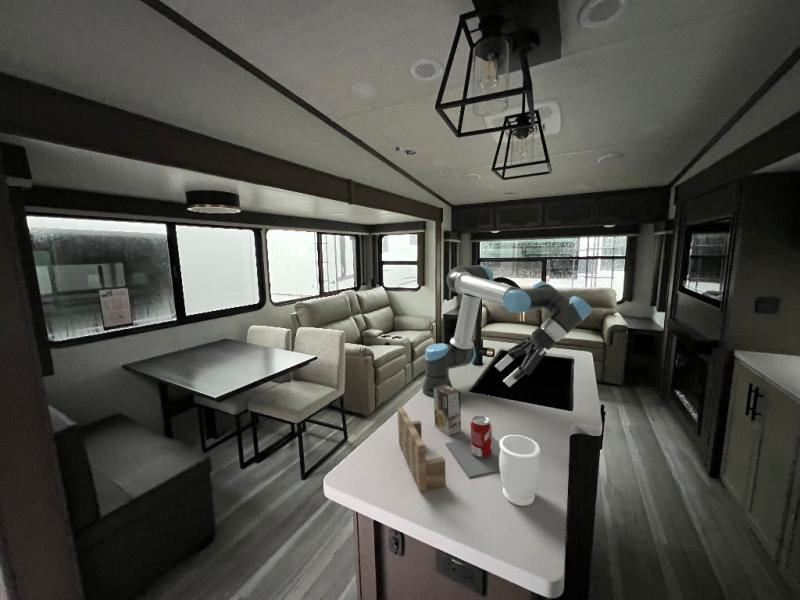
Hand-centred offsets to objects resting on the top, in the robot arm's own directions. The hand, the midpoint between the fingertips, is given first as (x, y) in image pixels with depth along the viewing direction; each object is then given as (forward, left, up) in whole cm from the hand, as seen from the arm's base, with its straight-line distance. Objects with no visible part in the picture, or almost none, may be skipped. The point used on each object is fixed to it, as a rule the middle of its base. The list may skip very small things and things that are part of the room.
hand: (501, 375), depth 109 cm
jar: (+24, -10, -25) cm, 36 cm away
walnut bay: (+3, -32, -25) cm, 40 cm away
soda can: (+5, -11, -24) cm, 27 cm away
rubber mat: (+5, -11, -25) cm, 27 cm away
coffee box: (-14, -15, -25) cm, 32 cm away
